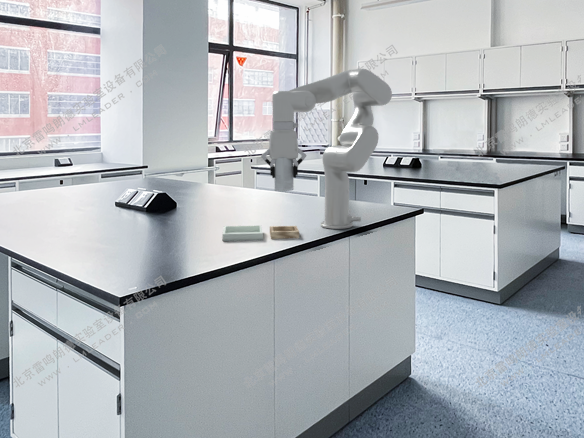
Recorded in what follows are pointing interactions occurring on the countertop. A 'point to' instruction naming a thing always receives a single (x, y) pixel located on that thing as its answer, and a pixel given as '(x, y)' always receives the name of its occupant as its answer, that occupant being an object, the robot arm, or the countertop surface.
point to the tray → (242, 233)
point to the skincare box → (283, 174)
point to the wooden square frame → (284, 232)
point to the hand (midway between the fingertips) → (284, 177)
